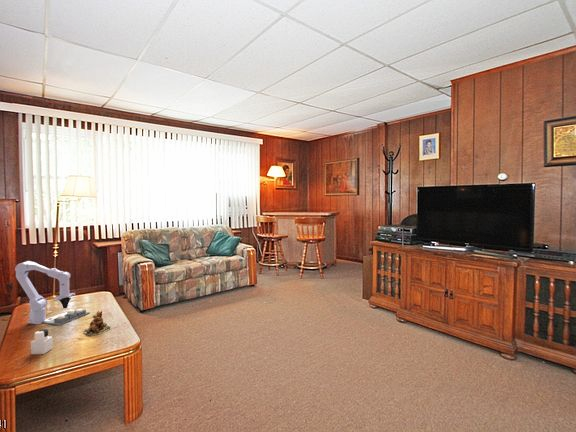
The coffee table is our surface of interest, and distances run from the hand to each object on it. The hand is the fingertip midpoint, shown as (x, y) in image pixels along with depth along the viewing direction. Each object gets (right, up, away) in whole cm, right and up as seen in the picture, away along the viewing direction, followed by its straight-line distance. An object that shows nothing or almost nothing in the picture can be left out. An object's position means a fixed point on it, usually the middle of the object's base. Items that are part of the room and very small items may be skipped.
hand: (65, 308), depth 222 cm
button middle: (+2, -6, +3) cm, 7 cm away
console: (-3, -9, +5) cm, 10 cm away
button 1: (0, -8, -3) cm, 8 cm away
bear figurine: (+34, -10, -17) cm, 39 cm away
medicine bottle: (+20, -11, -46) cm, 51 cm away
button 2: (+3, -7, +10) cm, 13 cm away
